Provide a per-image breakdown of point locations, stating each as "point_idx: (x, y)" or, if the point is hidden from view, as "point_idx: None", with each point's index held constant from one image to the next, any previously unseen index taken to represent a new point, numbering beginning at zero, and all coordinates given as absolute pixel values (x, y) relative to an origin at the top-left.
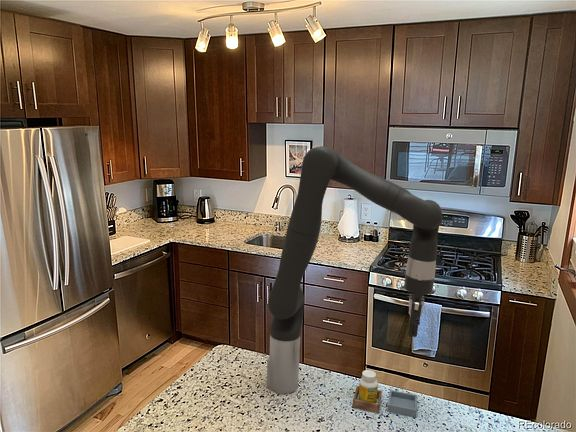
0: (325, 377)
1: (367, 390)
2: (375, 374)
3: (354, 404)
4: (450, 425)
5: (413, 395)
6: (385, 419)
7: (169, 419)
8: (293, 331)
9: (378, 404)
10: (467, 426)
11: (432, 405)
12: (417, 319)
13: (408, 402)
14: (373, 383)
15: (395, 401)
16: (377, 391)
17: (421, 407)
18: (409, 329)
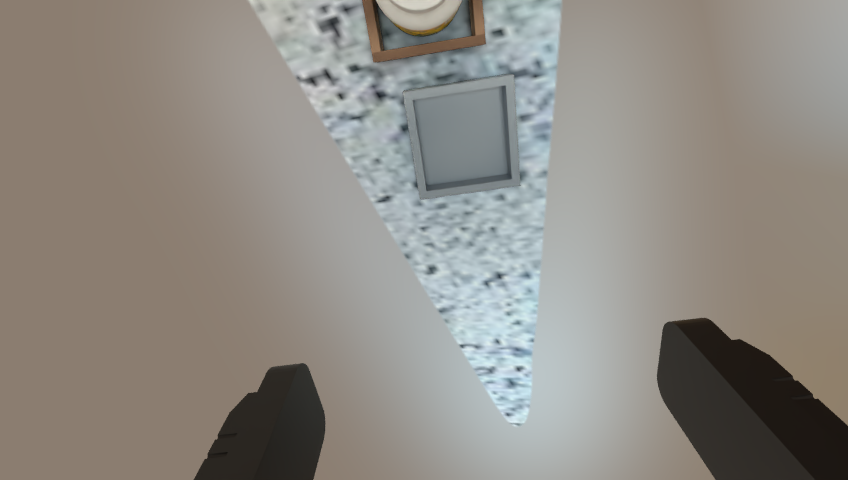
0: None
1: None
2: (424, 5)
3: None
4: (433, 286)
5: (512, 173)
6: (355, 95)
7: None
8: None
9: (377, 56)
10: (451, 324)
11: (514, 229)
12: (692, 441)
13: (486, 155)
14: (397, 9)
15: (471, 108)
16: (475, 24)
17: (487, 198)
18: (240, 432)
